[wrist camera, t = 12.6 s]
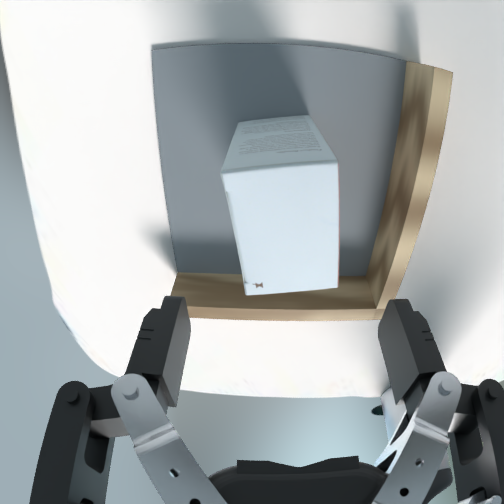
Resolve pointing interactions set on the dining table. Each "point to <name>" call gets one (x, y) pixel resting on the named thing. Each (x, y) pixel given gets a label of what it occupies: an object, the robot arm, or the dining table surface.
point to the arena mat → (263, 107)
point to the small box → (284, 205)
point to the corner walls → (388, 236)
